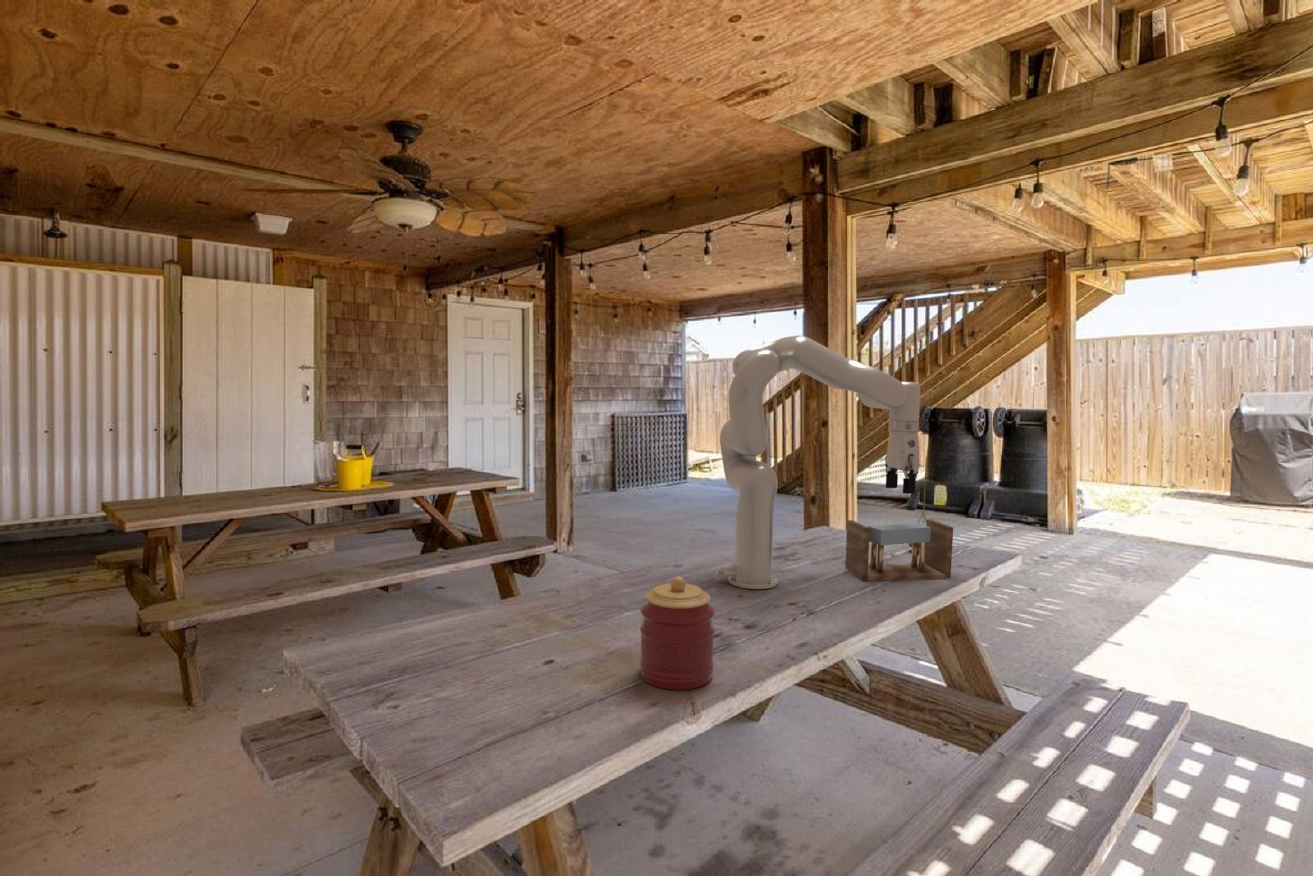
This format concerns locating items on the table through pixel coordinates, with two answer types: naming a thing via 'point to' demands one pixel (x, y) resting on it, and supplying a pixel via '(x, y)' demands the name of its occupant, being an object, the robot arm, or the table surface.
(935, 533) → the shelf frame
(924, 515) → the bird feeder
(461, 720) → the table surface
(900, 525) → the shelf board
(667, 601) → the canister
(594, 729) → the table surface
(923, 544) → the shelf pegs
